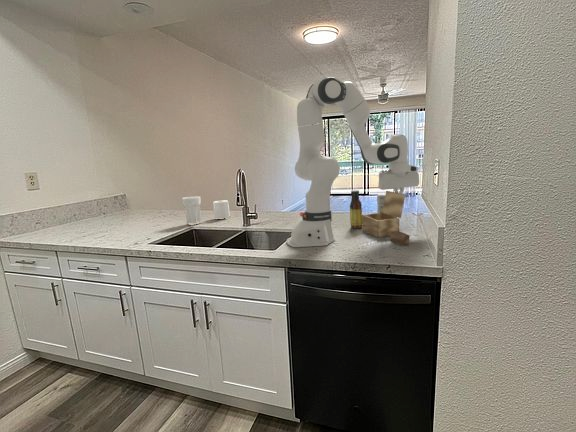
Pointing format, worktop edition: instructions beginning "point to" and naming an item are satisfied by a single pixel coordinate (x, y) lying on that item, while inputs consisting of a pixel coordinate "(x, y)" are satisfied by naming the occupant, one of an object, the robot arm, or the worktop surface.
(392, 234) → the walnut batten
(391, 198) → the lid
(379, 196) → the supplement box
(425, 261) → the worktop surface
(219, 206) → the white tapered cylinder
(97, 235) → the worktop surface
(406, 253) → the worktop surface
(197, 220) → the cup
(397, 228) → the bread box
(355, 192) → the sauce bottle
